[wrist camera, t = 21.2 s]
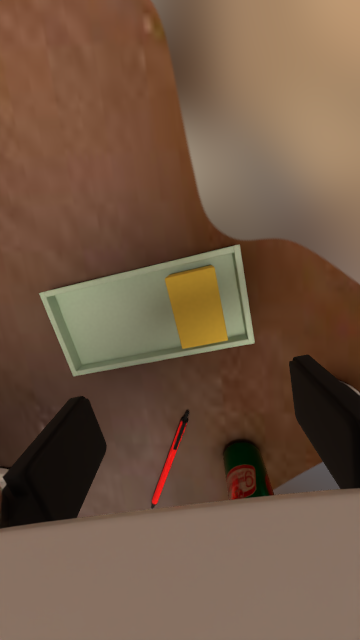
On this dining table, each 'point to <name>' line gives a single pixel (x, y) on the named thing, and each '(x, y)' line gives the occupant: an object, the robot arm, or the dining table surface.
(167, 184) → the dining table surface
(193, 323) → the sponge
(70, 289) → the tray
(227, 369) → the dining table surface
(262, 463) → the soda can
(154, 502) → the pen
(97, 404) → the dining table surface
